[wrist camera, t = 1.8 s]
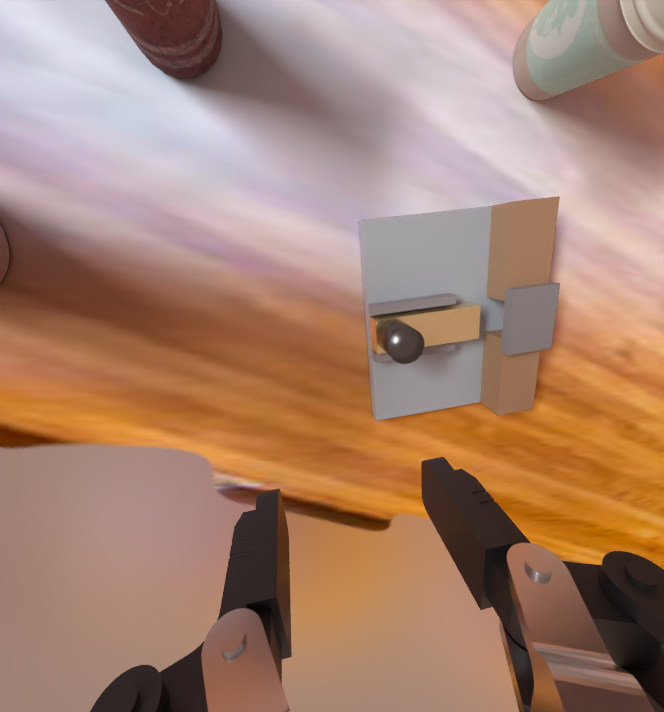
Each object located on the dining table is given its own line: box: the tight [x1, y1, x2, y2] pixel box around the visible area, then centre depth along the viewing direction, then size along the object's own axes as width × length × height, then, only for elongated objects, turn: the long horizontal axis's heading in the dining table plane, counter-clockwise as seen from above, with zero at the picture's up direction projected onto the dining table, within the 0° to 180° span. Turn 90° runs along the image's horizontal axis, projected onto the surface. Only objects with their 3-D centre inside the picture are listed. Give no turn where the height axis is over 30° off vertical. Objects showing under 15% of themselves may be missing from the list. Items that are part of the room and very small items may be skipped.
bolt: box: [370, 302, 481, 364], centre depth 28 cm, size 10×3×6 cm, turn 96°
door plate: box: [359, 197, 560, 421], centre depth 30 cm, size 16×20×6 cm
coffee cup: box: [513, 0, 664, 101], centre depth 21 cm, size 9×9×12 cm
